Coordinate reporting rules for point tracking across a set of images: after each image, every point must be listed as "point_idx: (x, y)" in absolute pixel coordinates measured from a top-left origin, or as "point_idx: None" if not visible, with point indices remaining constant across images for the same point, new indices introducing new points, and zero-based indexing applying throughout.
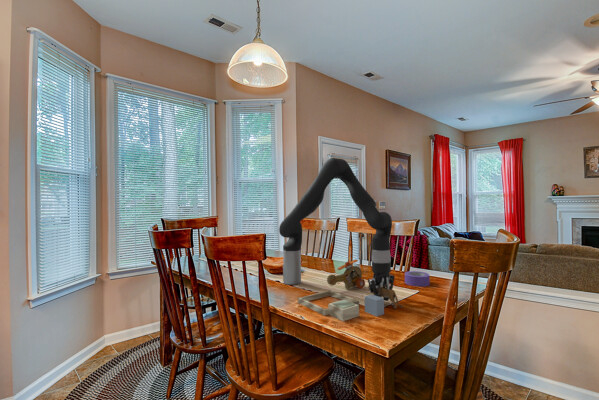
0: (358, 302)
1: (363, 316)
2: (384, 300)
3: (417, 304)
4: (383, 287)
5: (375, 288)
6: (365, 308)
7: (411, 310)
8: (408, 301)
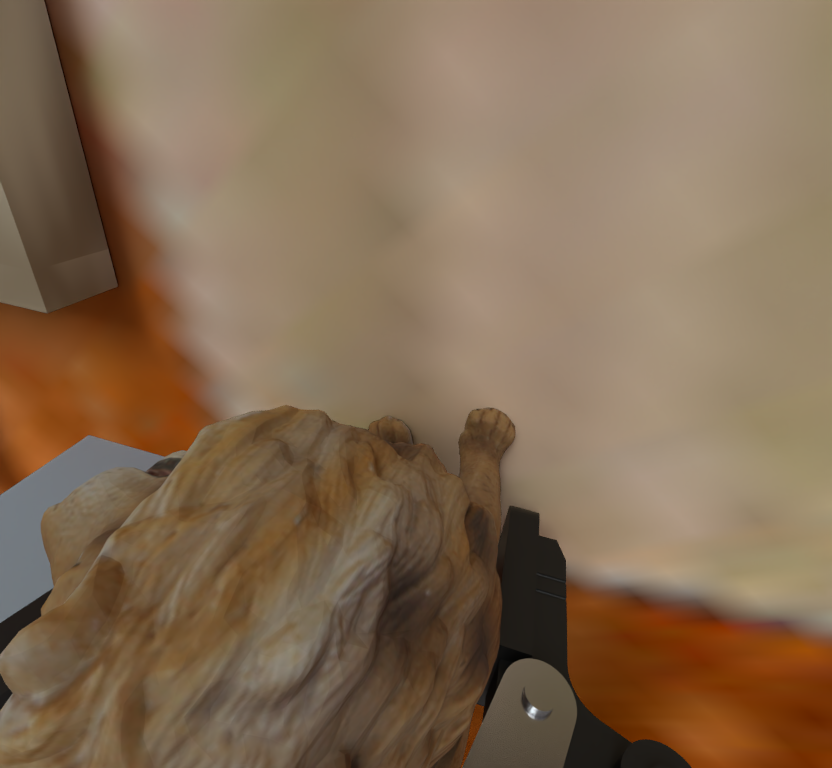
0: (62, 299)
1: (30, 472)
2: (509, 511)
3: (705, 756)
4: (465, 761)
5: None
6: (56, 470)
7: (473, 715)
8: (778, 696)
